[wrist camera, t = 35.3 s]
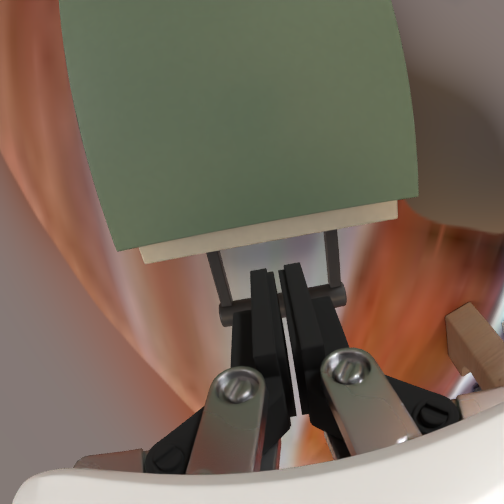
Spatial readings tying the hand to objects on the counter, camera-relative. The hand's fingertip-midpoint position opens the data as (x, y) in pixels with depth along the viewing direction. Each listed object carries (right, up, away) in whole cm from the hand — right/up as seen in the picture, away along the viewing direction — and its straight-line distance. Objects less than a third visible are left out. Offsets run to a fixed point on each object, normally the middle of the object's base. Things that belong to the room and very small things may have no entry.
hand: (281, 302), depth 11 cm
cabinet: (-2, +13, +7) cm, 15 cm away
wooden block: (+21, -6, +17) cm, 27 cm away
